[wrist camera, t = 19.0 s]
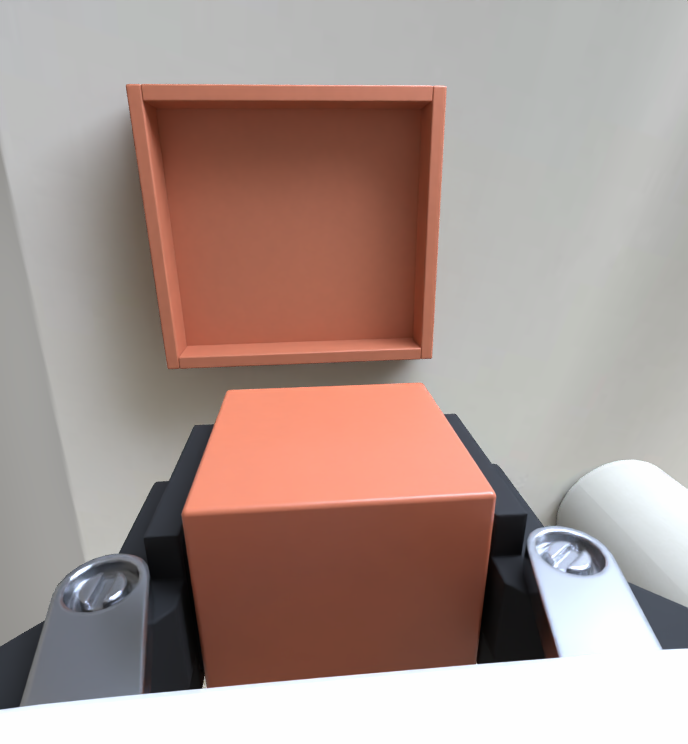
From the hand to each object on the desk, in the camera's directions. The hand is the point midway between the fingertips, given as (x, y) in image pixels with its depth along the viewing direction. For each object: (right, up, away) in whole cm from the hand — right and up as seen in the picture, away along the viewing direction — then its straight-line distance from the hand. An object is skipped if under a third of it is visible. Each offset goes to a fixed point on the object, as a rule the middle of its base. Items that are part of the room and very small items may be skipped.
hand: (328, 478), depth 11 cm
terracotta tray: (-2, +9, +13) cm, 16 cm away
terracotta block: (0, 0, 0) cm, 0 cm away
